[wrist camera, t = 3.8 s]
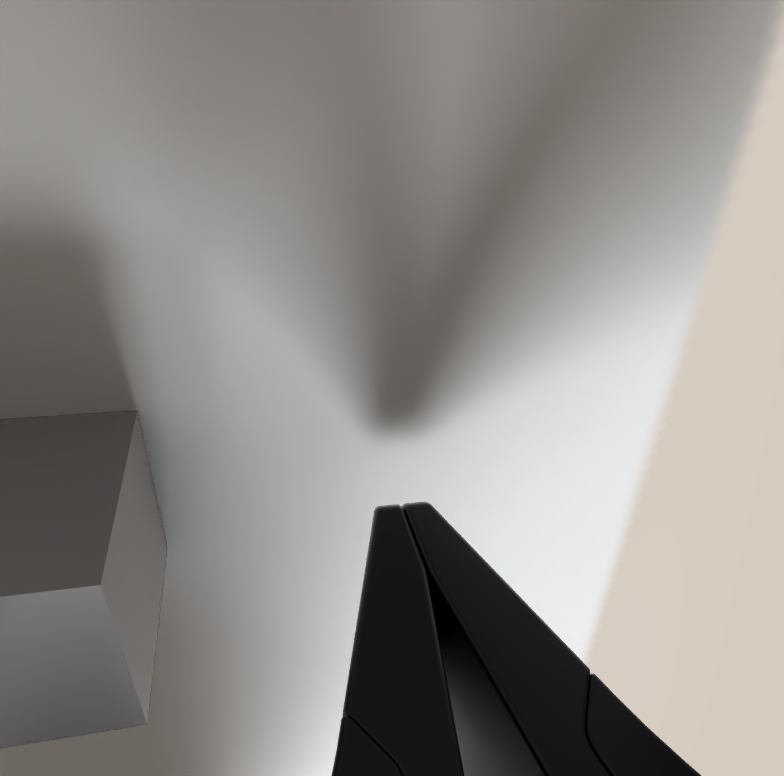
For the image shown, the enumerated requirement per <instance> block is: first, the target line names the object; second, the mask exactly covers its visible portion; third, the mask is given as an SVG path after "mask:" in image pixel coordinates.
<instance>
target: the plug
mask: <svg viewBox="0 0 784 776" xmlns="http://www.w3.org/2000/svg"><path fill="white" fill-rule="evenodd" d="M166 555H167V544H166V539H165V534H164V530H163V525H162V521H161V516H160V512H159V507H158V503H157V498H156V493H155V489H154V484H153V480H152V475H151V471H150V466H149V462H148V457H147V452H146V448H145V443H144V439H143V434H142V430H141V425H140V421H139V416H138V411H123V412H107V413H91V414H75V415H59V416H43V417H28V418H12V419H0V748H5V747H11V746H17V745H23V744H29V743H35V742H42V741H48V740H54V739H60V738H66V737H72V736H78V735H84V734H90V733H96V732H102V731H108V730H115V729H121V728H127V727H133V726H139V725H145V724H147V722H148V713H149V704H150V695H151V687H152V678H153V669H154V660H155V652H156V643H157V634H158V625H159V617H160V608H161V599H162V590H163V582H164V573H165V564H166Z"/></svg>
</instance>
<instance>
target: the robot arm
mask: <svg viewBox="0 0 784 776" xmlns="http://www.w3.org/2000/svg"><path fill="white" fill-rule="evenodd" d="M332 776H701V775H700V774H699V773H698V772H696V771H695V770H694V769H693V768H692V767H691V766H689V764H687V763H686V762H685V761H684V760H683V759H682V758H681V757H680V756H679V755H677V754H676V753H675V752H674V751H673V750H672V749H671V748H670V747H669V746H667V745H666V744H665V743H664V742H663V741H662V740H661V739H660V738H659V737H657V736H656V735H655V734H654V733H653V732H652V731H651V730H650V729H649V728H648V727H647V726H645V724H644V723H642V721H641V720H640V719H639V718H637V716H636V715H634V714H633V713H632V712H631V711H630V710H629V709H628V708H627V707H626V706H625V705H624V704H623V703H622V702H621V701H620V700H619V699H618V698H617V697H616V696H615V695H614V694H613V693H612V692H611V691H610V690H609V688H608V687H606V685H605V684H604V683H603V682H602V681H601V680H600V679H599V678H598V677H597V676H596V675H595V674H590V670H589V668H588V667H587V666H586V665H585V664H584V663H583V662H582V661H581V660H580V659H579V658H578V657H577V656H576V654H575V653H574V652H573V651H572V650H571V649H570V648H569V647H568V646H567V645H566V644H565V643H564V642H563V641H562V640H561V639H560V638H559V637H558V636H557V635H556V634H555V633H554V632H553V631H552V630H551V629H550V628H549V626H548V625H547V624H546V623H545V622H544V621H543V620H542V619H541V618H540V617H539V616H538V615H537V614H536V613H535V612H534V611H533V610H532V609H531V608H530V607H529V606H528V605H527V604H526V603H525V602H524V601H523V600H522V598H521V597H520V596H519V595H518V594H517V593H516V592H515V591H514V590H513V589H512V588H511V587H510V586H509V585H508V584H507V583H506V582H505V581H504V580H503V579H502V578H501V577H500V576H499V575H498V574H497V573H496V572H495V571H494V569H493V568H492V567H491V566H490V565H489V564H488V563H487V562H486V561H485V560H484V559H483V558H482V557H481V556H480V555H479V554H478V553H477V552H476V551H475V550H474V549H473V548H472V547H471V546H470V545H469V544H468V543H467V541H466V540H465V539H464V538H463V537H462V536H461V535H460V534H459V533H458V532H457V531H456V530H455V529H454V528H453V527H452V526H451V525H450V524H449V523H448V522H447V521H446V520H445V519H444V518H443V517H442V516H441V515H440V513H439V512H438V511H437V510H436V509H435V508H434V507H433V506H432V505H431V504H429V503H427V502H417V503H407V504H404V505H403V506H402V507H401V506H400V505H387V506H378V507H376V508H375V511H374V517H373V523H372V529H371V536H370V542H369V549H368V555H367V561H366V568H365V574H364V581H363V587H362V593H361V600H360V606H359V613H358V619H357V625H356V632H355V638H354V645H353V651H352V657H351V664H350V670H349V677H348V683H347V689H346V696H345V702H344V708H343V717H342V720H341V726H340V732H339V738H338V745H337V751H336V756H335V761H334V766H333V772H332Z"/></svg>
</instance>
